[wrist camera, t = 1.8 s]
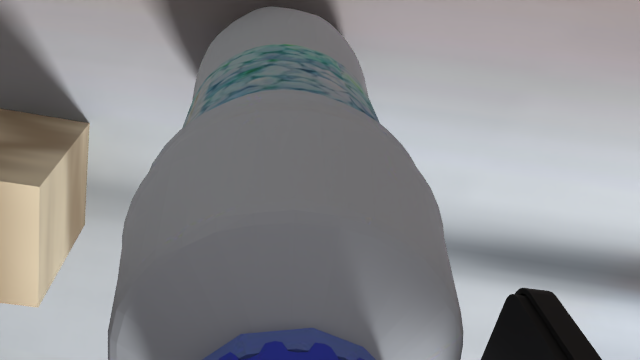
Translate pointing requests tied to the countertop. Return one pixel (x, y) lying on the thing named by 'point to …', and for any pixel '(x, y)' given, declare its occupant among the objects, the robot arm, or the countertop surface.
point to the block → (39, 200)
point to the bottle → (283, 217)
